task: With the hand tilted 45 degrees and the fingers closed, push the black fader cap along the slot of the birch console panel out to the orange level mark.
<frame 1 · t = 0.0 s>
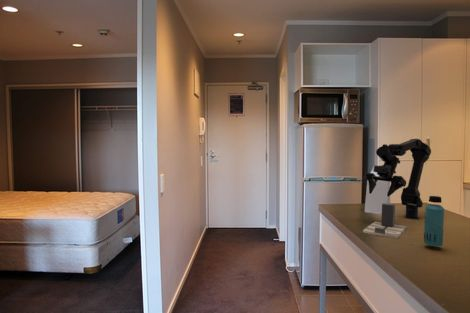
hand: (378, 194, 154), 15 cm above the counter, tool tilted 35°, fingers open, 9 cm apart
fader cap: (388, 214, 151), point 6 cm above the counter, slide at 0.0 cm
milk: (377, 211, 186), on the counter
console panel: (385, 230, 147), on the counter
beverage bottle: (432, 248, 124), on the counter
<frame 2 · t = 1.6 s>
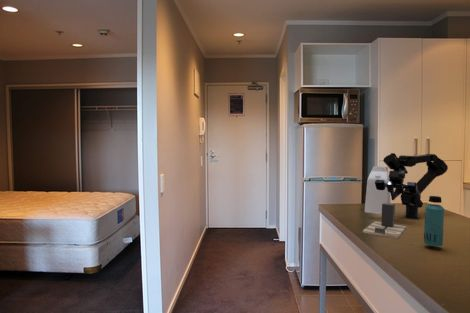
hand: (392, 199, 158), 12 cm above the counter, tool tilted 45°, fingers closed
nothing on the counter moved.
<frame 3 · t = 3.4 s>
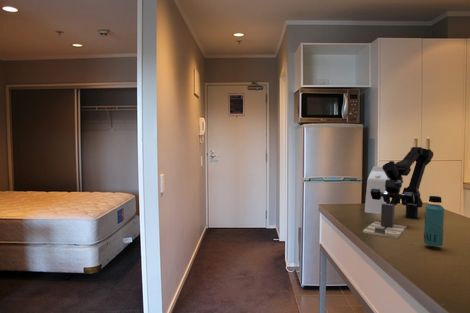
hand: (388, 210, 151), 8 cm above the counter, tool tilted 45°, fingers closed, pressing on fader cap
fader cap: (387, 215, 150), point 6 cm above the counter, slide at 0.9 cm, touching gripper
everything else where it was.
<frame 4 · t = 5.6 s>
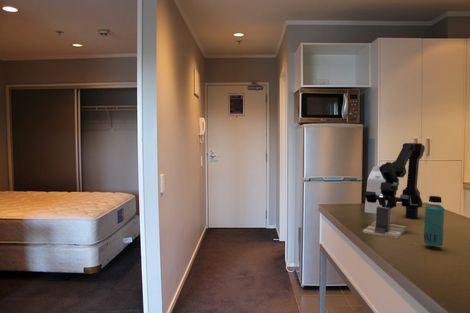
hand: (384, 214, 144), 8 cm above the counter, tool tilted 45°, fingers closed, pressing on fader cap
fader cap: (383, 218, 143), point 6 cm above the counter, slide at 10.0 cm, touching gripper
everything else where it was.
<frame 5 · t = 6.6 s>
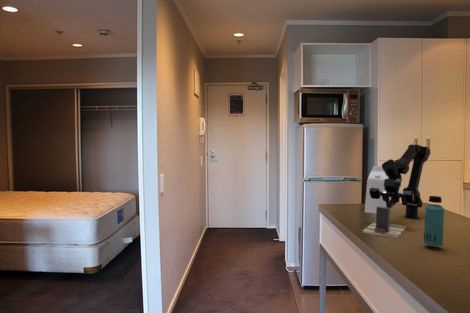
hand: (387, 209, 149), 9 cm above the counter, tool tilted 45°, fingers closed
fader cap: (383, 218, 143), point 6 cm above the counter, slide at 10.0 cm
everything else where it was.
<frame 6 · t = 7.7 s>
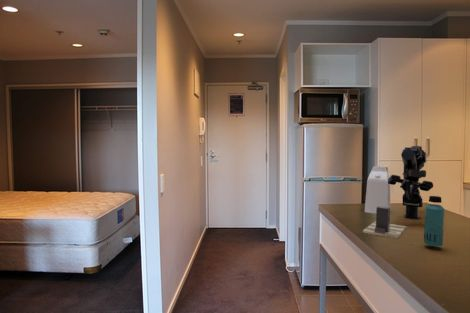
hand: (409, 199, 152), 13 cm above the counter, tool tilted 35°, fingers closed
nothing on the counter moved.
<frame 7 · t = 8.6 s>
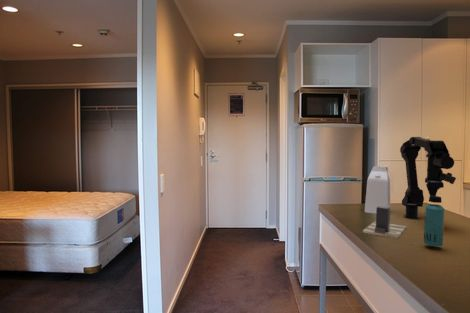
hand: (432, 200, 152), 13 cm above the counter, tool pointing down, fingers closed
nothing on the counter moved.
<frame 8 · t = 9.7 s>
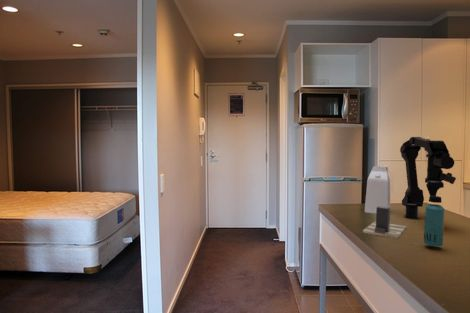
hand: (433, 200, 152), 13 cm above the counter, tool pointing down, fingers closed
nothing on the counter moved.
at the end: fader cap slide at 10.0 cm; the gripper is holding nothing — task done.
